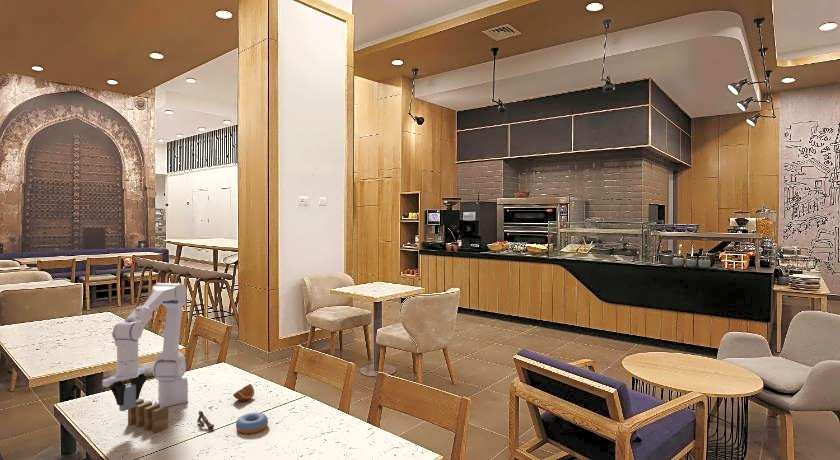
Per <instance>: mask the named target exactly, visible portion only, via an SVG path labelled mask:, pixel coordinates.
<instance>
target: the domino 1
mask: <svg viewBox="0 0 840 460" xmlns="http://www.w3.org/2000/svg"><path fill="white" fill-rule="evenodd" d="M118 406H119V408H118V409H119V411H120V412H125V411H128V409H130V408H133V407H135V406H136V385H135V384H131V383H130V384H129V385H126V387H125V391H124V404H123V405H122V406H120V405H118Z"/></svg>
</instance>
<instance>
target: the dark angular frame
mask: <svg viewBox="0 0 840 460" xmlns="http://www.w3.org/2000/svg"><path fill="white" fill-rule="evenodd" d="M198 415H199V416H198V418H197V421H196V423H198V424H199V425H200V426H201V427H205V425H206V427H207V431H211V430H213V429H214V428H215V424H214V423H213V424H212V423H211V422H210V421H209V420H208V418H207V416H206V415H204V412H203V411H201V410H198Z"/></svg>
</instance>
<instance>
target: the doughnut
mask: <svg viewBox="0 0 840 460" xmlns="http://www.w3.org/2000/svg"><path fill="white" fill-rule="evenodd" d="M268 424H269V418H268V416H267V415H266V414H264V413H262V412H250V413H245V414H243V415H241V416H240V417H238V418H237V419H236V422H235V428H236V430H237V432H239V433H241V434H244V435H253V434H257V433H260V432H263V430H265V429H266V428H267V426H268Z"/></svg>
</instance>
